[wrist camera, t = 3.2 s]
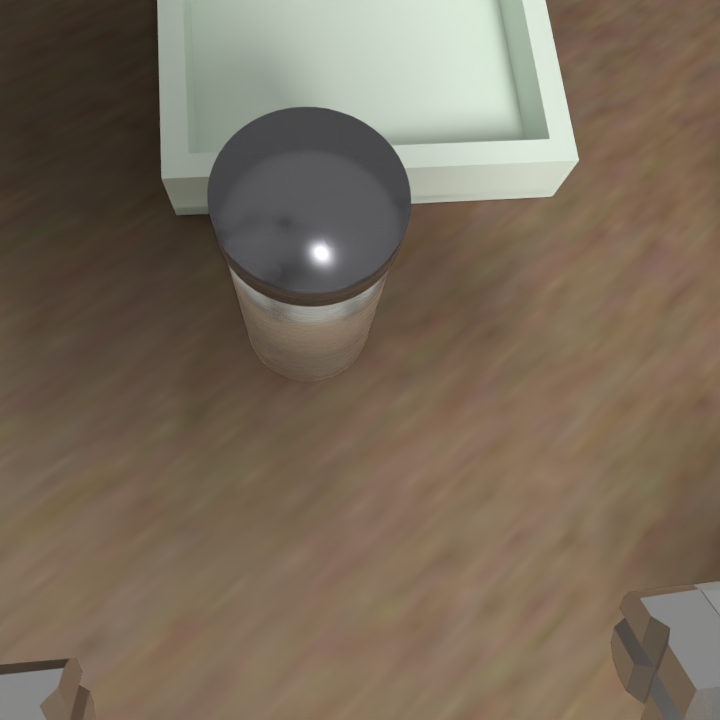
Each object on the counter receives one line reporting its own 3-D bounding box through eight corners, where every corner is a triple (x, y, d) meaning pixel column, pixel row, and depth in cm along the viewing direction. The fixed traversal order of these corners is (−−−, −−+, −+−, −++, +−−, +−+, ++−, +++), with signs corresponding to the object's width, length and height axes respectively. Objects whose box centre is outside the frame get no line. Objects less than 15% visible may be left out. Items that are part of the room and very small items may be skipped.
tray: (176, 215, 26) (161, 178, 23) (167, -92, 30) (153, -154, 27) (552, 196, 28) (579, 160, 25) (496, -92, 32) (513, -150, 29)
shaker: (248, 389, 24) (211, 296, 15) (241, 268, 26) (203, 109, 16) (377, 379, 25) (422, 282, 15) (364, 261, 26) (398, 103, 16)
